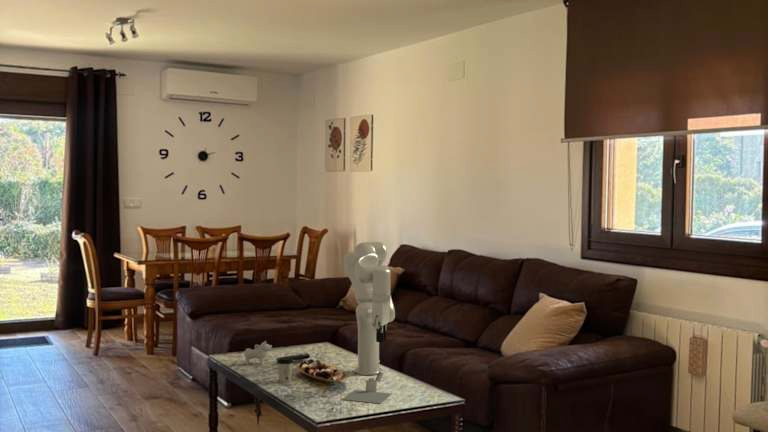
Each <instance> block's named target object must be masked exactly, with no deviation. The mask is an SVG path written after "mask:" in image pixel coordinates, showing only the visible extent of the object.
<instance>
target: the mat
mask: <svg viewBox="0 0 768 432" xmlns="http://www.w3.org/2000/svg"><path fill="white" fill-rule="evenodd" d="M391 395H392V393H390V392H380V391H374V392H367V391H366V390H360V389H353V391H351V392H350V393H349V394H347V395H345V396H344V397H343V398H342V399H341V401H348V402H358V403H366V404H367V403H368V404H375V405H376V404H377V405H381V404H382V403H383V402H384V401H386V400H387V399H388V398H389V397H390V396H391Z"/></svg>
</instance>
